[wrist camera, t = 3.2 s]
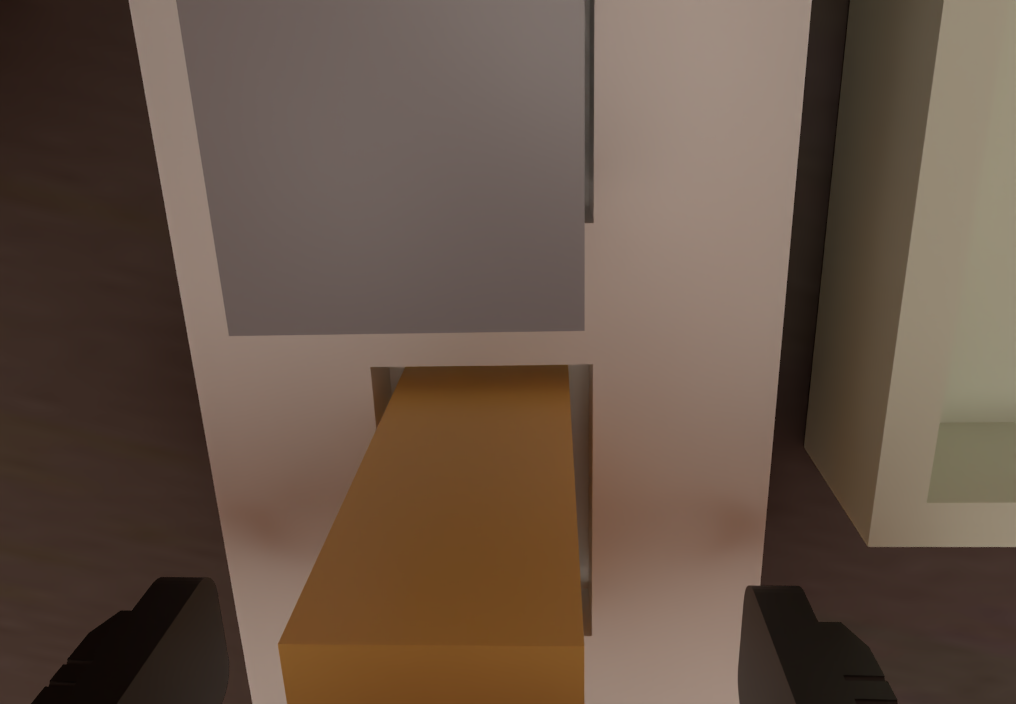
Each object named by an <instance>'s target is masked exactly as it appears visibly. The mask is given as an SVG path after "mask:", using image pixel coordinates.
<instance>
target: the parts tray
mask: <svg viewBox="0 0 1016 704" xmlns="http://www.w3.org/2000/svg"><path fill="white" fill-rule="evenodd" d="M804 448H805V450H806V451H807V453H808V455H809V456H810V458H811V459H812V461H813V462H814V464H815V465H816V467H817V469H818V470H819V472H820V473H821V475H822V476H823V478H824V479H825V481H826V483H827V484H828V486H829V487H830V489H831V490H832V492H833V494H834V495H835V497H836V498H837V500H838V501H839V503H840V504H841V506H842V508H843V509H844V511H845V512H846V514H847V515H848V517H849V518H850V520H851V522H852V523H853V525H854V526H855V528H856V529H857V531H858V532H859V534H860V536H861V537H862V539H863V540H864V542H865V543H866V545H867V546H868V547H1016V0H850V4H849V14H848V23H847V33H846V43H845V52H844V62H843V72H842V82H841V91H840V101H839V111H838V120H837V130H836V140H835V150H834V159H833V169H832V179H831V188H830V198H829V208H828V217H827V227H826V237H825V247H824V256H823V266H822V276H821V285H820V295H819V305H818V315H817V324H816V334H815V344H814V353H813V363H812V373H811V382H810V392H809V402H808V412H807V421H806V431H805V441H804Z"/></svg>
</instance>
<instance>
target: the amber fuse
mask: <svg viewBox="0 0 1016 704" xmlns="http://www.w3.org/2000/svg"><path fill="white" fill-rule="evenodd" d="M278 650H279V656H280V663H281V669H282V675H283V682H284V688H285V694H286V701H287V704H584V631H583V613H582V596H581V579H580V562H579V544H578V527H577V510H576V492H575V475H574V458H573V441H572V423H571V406H570V389H569V371H568V365H498V366H418V367H405V368H404V370H403V373H402V375H401V377H400V379H399V381H398V384H397V386H396V388H395V390H394V392H393V394H392V397H391V399H390V401H389V403H388V405H387V407H386V410H385V412H384V414H383V416H382V418H381V420H380V423H379V425H378V427H377V429H376V431H375V434H374V436H373V438H372V440H371V442H370V444H369V447H368V449H367V451H366V453H365V455H364V457H363V460H362V462H361V464H360V466H359V468H358V471H357V473H356V475H355V477H354V479H353V481H352V484H351V486H350V488H349V490H348V492H347V494H346V497H345V499H344V501H343V503H342V505H341V508H340V510H339V512H338V514H337V516H336V518H335V521H334V523H333V525H332V527H331V529H330V531H329V534H328V536H327V538H326V540H325V542H324V545H323V547H322V549H321V551H320V553H319V555H318V558H317V560H316V562H315V564H314V566H313V568H312V571H311V573H310V575H309V577H308V579H307V582H306V584H305V586H304V588H303V590H302V592H301V595H300V597H299V599H298V601H297V603H296V605H295V608H294V610H293V612H292V614H291V616H290V618H289V621H288V623H287V625H286V627H285V629H284V632H283V634H282V636H281V638H280V640H279V642H278Z"/></svg>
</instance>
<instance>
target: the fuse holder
mask: <svg viewBox="0 0 1016 704" xmlns="http://www.w3.org/2000/svg"><path fill="white" fill-rule="evenodd" d="M811 4H812V0H585V331H542V332H474V333H406V334H338V335H270V336H229V333H228V327H227V320H226V314H225V308H224V301H223V295H222V289H221V282H220V276H219V270H218V263H217V257H216V251H215V244H214V238H213V232H212V225H211V219H210V213H209V206H208V200H207V194H206V187H205V181H204V175H203V168H202V162H201V156H200V149H199V143H198V137H197V130H196V124H195V118H194V111H193V105H192V99H191V92H190V86H189V80H188V73H187V67H186V61H185V54H184V48H183V42H182V35H181V29H180V23H179V16H178V10H177V4H176V0H129V6H130V11H131V17H132V23H133V28H134V34H135V40H136V45H137V51H138V57H139V62H140V68H141V74H142V79H143V85H144V91H145V96H146V102H147V108H148V113H149V119H150V125H151V130H152V136H153V142H154V148H155V153H156V159H157V165H158V170H159V176H160V182H161V187H162V193H163V199H164V204H165V210H166V216H167V221H168V227H169V233H170V238H171V244H172V250H173V255H174V261H175V267H176V272H177V278H178V284H179V289H180V295H181V301H182V306H183V312H184V318H185V323H186V329H187V335H188V341H189V346H190V352H191V358H192V363H193V369H194V375H195V380H196V386H197V392H198V397H199V403H200V409H201V414H202V420H203V426H204V431H205V437H206V443H207V448H208V454H209V460H210V465H211V471H212V477H213V482H214V488H215V494H216V499H217V505H218V511H219V517H220V522H221V528H222V534H223V539H224V545H225V551H226V556H227V562H228V568H229V573H230V579H231V585H232V590H233V596H234V602H235V607H236V613H237V619H238V624H239V630H240V636H241V641H242V647H243V653H244V658H245V664H246V670H247V675H248V681H249V687H250V692H251V698H252V704H287V701H286V694H285V688H284V682H283V675H282V669H281V663H280V656H279V650H278V642H279V640H280V638H281V636H282V634H283V632H284V629H285V627H286V625H287V623H288V621H289V618H290V616H291V614H292V612H293V610H294V608H295V605H296V603H297V601H298V599H299V597H300V595H301V592H302V590H303V588H304V586H305V584H306V582H307V579H308V577H309V575H310V573H311V571H312V568H313V566H314V564H315V562H316V560H317V558H318V555H319V553H320V551H321V549H322V547H323V545H324V542H325V540H326V538H327V536H328V534H329V531H330V529H331V527H332V525H333V523H334V521H335V518H336V516H337V514H338V512H339V510H340V508H341V505H342V503H343V501H344V499H345V497H346V494H347V492H348V490H349V488H350V486H351V484H352V481H353V479H354V477H355V475H356V473H357V471H358V468H359V466H360V464H361V462H362V460H363V457H364V455H365V453H366V451H367V449H368V447H369V444H370V442H371V440H372V438H373V436H374V434H375V431H376V429H377V427H378V425H379V423H380V420H381V418H382V416H383V414H384V412H385V410H386V407H387V405H388V403H389V401H390V399H391V397H392V394H393V392H394V390H395V388H396V386H397V384H398V381H399V379H400V377H401V375H402V373H403V370H404V368H405V367H418V366H498V365H568V371H569V389H570V406H571V423H572V441H573V458H574V475H575V492H576V510H577V527H578V544H579V562H580V579H581V596H582V613H583V631H584V704H740V703H739V694H738V661H739V649H740V637H741V626H742V614H743V602H744V594H745V590H746V587H747V586H748V585H755V586H760V581H761V570H762V559H763V547H764V536H765V525H766V513H767V502H768V491H769V479H770V468H771V457H772V445H773V434H774V423H775V412H776V400H777V389H778V378H779V366H780V355H781V344H782V332H783V321H784V310H785V298H786V287H787V276H788V264H789V253H790V242H791V230H792V219H793V208H794V196H795V185H796V174H797V162H798V151H799V140H800V128H801V117H802V106H803V94H804V83H805V72H806V60H807V49H808V38H809V26H810V15H811Z"/></svg>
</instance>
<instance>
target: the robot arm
mask: <svg viewBox="0 0 1016 704" xmlns="http://www.w3.org/2000/svg"><path fill="white" fill-rule="evenodd" d="M228 677H229V659H228V652H227V646H226V640H225V635H224V629H223V623H222V617H221V611H220V605H219V599H218V593H217V589H216V585H215V583H214V581H213V580H212V579H211V578H193V577H160V578H158V579H157V580H156V581H155V582H154V583H153V584H152V585H151V586H150V588H149V589H148V590H147V592H146V593H145V594H144V595H143V597H142V598H141V599H140V601H139V602H138V603H137V605H136V606H135V607H134V608H133V610H132V611H119V612H118V613H117V614H115V615H114V616H112V617H111V618H110V619H108V620H107V621H105V622H104V623H102V624H101V625H100V626H98V627H97V628H95V629H94V630H93V631H91V632H90V633H89V634H88V635H87V636H86V637H85V638H84V640H83V641H82V642H81V643H80V645H79V646H78V647H77V648H76V649H75V651H74V652H73V653H72V654H71V656H70V657H69V658H68V662H67V664H63V665H62V667H61V668H60V669H59V670H58V671H57V673H56V674H55V675H54V676H53V678H52V679H51V680H50V684H49V687H44V689H43V690H42V691H41V692H40V693H39V695H38V696H37V697H36V698H35V700H34V701H33V702H32V703H31V704H222V702H223V699H224V696H225V693H226V689H227V684H228ZM738 694H739V703H740V704H897V698H896V697H895V695H894V693H893V691H892V689H891V687H890V685H889V683H888V682H885V679H884V674H883V672H882V670H881V669H880V667H879V665H878V663H877V661H876V659H875V657H874V655H873V654H872V652H871V650H870V648H869V647H868V646H867V645H866V644H865V643H864V642H863V641H861V640H860V639H859V638H858V637H857V636H856V635H855V634H854V633H852V632H851V631H850V630H849V629H848V628H847V627H846V626H844V625H843V624H842V623H841V622H818V621H817V618H816V616H815V614H814V612H813V610H812V608H811V606H810V604H809V601H808V599H807V597H806V595H805V593H804V591H803V589H802V588H801V587H800V586H755V585H748V586H747V587H746V590H745V594H744V602H743V614H742V626H741V637H740V649H739V661H738Z"/></svg>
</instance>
